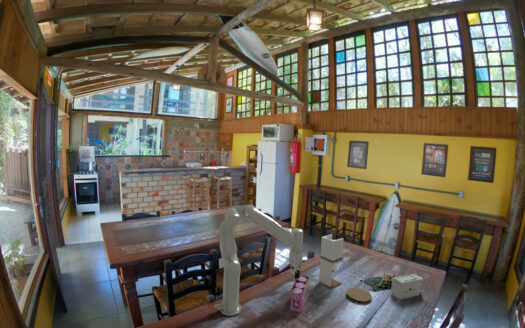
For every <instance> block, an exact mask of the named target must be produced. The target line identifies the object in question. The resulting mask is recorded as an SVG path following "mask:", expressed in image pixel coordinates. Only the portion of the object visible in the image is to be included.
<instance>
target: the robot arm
mask: <svg viewBox="0 0 525 328" xmlns="http://www.w3.org/2000/svg"><path fill="white" fill-rule="evenodd" d="M243 219H246V220H247V221H248V222H250V223H252V224H254V226H257V227H258V228H260V229H262V230H263V231H265V232H266V233H267V234H269V235H271V237H274V238H275V239H276V240H278V241H279V242H281V243H283V244H284V245H287V246H289V245H290V249H289V253H288V263H289V265H290V269H293V268H295V269H296V272H295V279H294V280H296V279H298V278H300V275H301V272H302V271H303V259H304V258H303V248H304V247H303V244H304V231H303V229H302V228H299V227H294V228H289V227H282V226H281V224H279V223H278V222H277V221H275V220H274V219H273V218H272V217H271V216H269V215H267V214H265V213H264V212H263V211H261V210H259V209H257V208H256V207H255V206H254V205H253V204H243V205H239V206H238V205H237V206H233V207H229V208H227V209H226V210H225V211H224V219H223V220H222V221H221V222H220V224H219V227H218V234H219V249H220V255H221V260H222V264H223V265H222V266H223V280H222V283H223V285H222V287H223V289H222V300H221V302H220V303H218V304H214V309H217V310H218V311H220V313H221V314H222V315H225V316H230V317H231V316H235V315H238V314H239V313H240V312H241V311H242V306H241V304H240V303H239V302H240V278H241V277H240V276H241V267H242V266H241V263H240V261H239V258H238V254H237V250H238V249H237V244H236V239H235V231H234V230H235V228H236V227H237V226H238V225H239V224H240V223H241V220H243ZM297 269H299V270H297Z"/></svg>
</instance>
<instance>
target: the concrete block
mask: <svg viewBox="0 0 525 328" xmlns="http://www.w3.org/2000/svg"><path fill="white" fill-rule="evenodd" d="M401 272H402V273H404V274H406V275H400V276H395V277H394V278H392V287H391V289H390V290H391V291H390V292H391V293H390V294H391V295H392V296H393V297H394V298H396V299H398V300H404V299H409V298H413V297H417V296H421V295H422V291H423V282H424V278H423V277H422V276H419V275H417V274H416V273H413V274H409V273H406V272H404V271H401Z"/></svg>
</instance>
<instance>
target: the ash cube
mask: <svg viewBox="0 0 525 328" xmlns="http://www.w3.org/2000/svg"><path fill="white" fill-rule="evenodd" d="M297 270H299V268H298V269H297ZM295 272H296V269H295V268H293V269H292V268H290V277H291V278H292V279H294V280H296V279H295Z"/></svg>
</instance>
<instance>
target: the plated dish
mask: <svg viewBox="0 0 525 328" xmlns="http://www.w3.org/2000/svg"><path fill="white" fill-rule="evenodd" d="M395 272H396V271H394V272H393V275H392V274H391V273H390V274H388V273H387V274H385V273H386V272H384V273H383V276H375V277H368V279H367V277H366V278H364V279H365V280H364V281H363V282H364V283H365V284H367V285H369V286H371V287H372V288H373V289H372V290H370V291H371V292H372V293H377V292H381V291H386V290H391V287H392V278H394V277H396V276H395ZM366 279H367V280H366Z"/></svg>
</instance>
